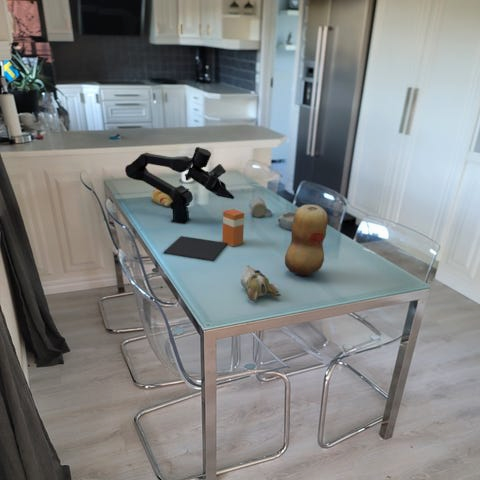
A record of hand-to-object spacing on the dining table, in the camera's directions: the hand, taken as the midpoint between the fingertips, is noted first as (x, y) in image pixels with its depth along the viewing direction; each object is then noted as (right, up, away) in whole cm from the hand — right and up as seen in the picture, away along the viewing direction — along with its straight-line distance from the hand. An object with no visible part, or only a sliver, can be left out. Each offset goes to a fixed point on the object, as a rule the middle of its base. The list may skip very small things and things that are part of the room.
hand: (231, 196), depth 199 cm
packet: (0, -20, -5) cm, 21 cm away
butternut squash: (+26, -35, -28) cm, 52 cm away
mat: (-14, -24, -12) cm, 30 cm away
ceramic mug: (+13, -2, +27) cm, 30 cm away
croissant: (-36, +7, +38) cm, 52 cm away
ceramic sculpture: (+9, -44, -43) cm, 62 cm away
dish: (+28, -9, +15) cm, 33 cm away
